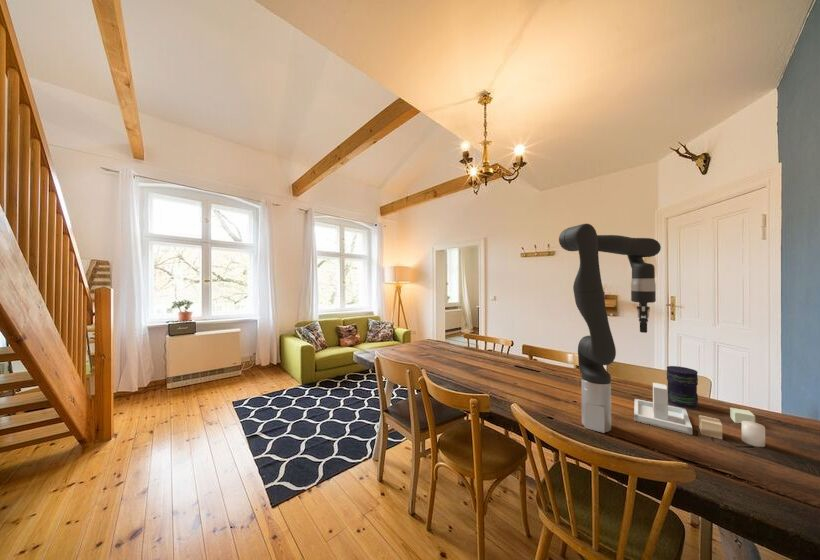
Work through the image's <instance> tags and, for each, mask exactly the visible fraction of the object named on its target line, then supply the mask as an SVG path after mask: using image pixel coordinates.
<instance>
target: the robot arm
mask: <svg viewBox="0 0 820 560" xmlns="http://www.w3.org/2000/svg"><path fill="white" fill-rule="evenodd" d="M558 243H559V246H560V247H561V248H562V249H563V250H565V251H567V252H578V255H579V268H578V271H577V274H576V276H575V278H574V282H573V295H574V296H573V297H574V302H575V304H576V307H577V309H578V311H579V313H580V315H581V317H582V318H583V320H584V322H585V323H586V325H587V328H588V332H589V335H584V336H582V337H581V338H580V340H579V342H578V346H577V359H578V361H577V363H578V369H579V372H580V374H581V375H580V376H581V385H580V386H581V388H580V389H581V424H582V425H583V427H584V428H585V429H588V430H591V431H595V432H599V433H602V434H606V432H607V433H608V432H610V431H611V430H612V380H611V378H612V376H611V374H610V373H609V372H608V370H607V369H606V368H605V367H604V366H609V365H611V364H612V363H614V361H615V359H616V355H617V349H616V344H615V341H614V337H613V335H612V334H613V333H612V330H611V328H610V323H609V318H608V312H607V307H606V299H605V293H604V287H603V283H602V277H601V270H600V261H599V252H601V253H608V254H615V255H621V256H622V255H623V256H627V259H628V261H629V264H630V267H631V282H630V283H631V284H630V300H631V301H630V302H633V303H638V305H637V306H636V312H637V318H638V322H639V333H641V334H642V333H645V334H646V333H648V323H649V318H650V312H651V307H650V306H648V304H649V303H651V304H653V303H656V298H657V297H656V294H657V293H656V291H657V290H656V289H657V288H656V285H657V284H656V279H655V277H656V275H655V274H656V273H655V270H656V269H655V268H656V267H655V265H654V264H653V263H647V262H645V260H644V258H652V257H655V256H657V255H659V253H660V251H661V248H662V247H661V244H660V242H659V241H658V240H656V239H654V238H649V237H630V236H626V235H625V236H624V235H617V234H600V235H599V234H598V233H597V231H596V229H595V227H594V226H593V225H592V224H590V223H582V224H578V225H574V226H571V227H568V228H565V229H563V230H562V231H561V232H560V234H559V236H558Z"/></svg>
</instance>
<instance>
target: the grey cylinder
mask: <svg viewBox="0 0 820 560" xmlns="http://www.w3.org/2000/svg"><path fill="white" fill-rule="evenodd" d="M741 441H742V442H744V443H745V444H747V445H751V446H754V447H758V448H764V447H766V427H765V426H764V425H763V424H761V423H758V422H756V421H755V422H751V421H742V424H741Z"/></svg>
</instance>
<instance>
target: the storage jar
mask: <svg viewBox="0 0 820 560" xmlns="http://www.w3.org/2000/svg"><path fill="white" fill-rule="evenodd" d="M666 380H667V389H668V404H671V406H674V407H679V408H683V409H688V410H689V409H691V410H696V409H698V407H699V406H698V402H699V398H698V385H699V379H698V370H696V369H692V368H688V367H685V366H679V365H678V366H677V365H669V366H666Z"/></svg>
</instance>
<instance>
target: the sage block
mask: <svg viewBox="0 0 820 560" xmlns="http://www.w3.org/2000/svg"><path fill="white" fill-rule="evenodd" d="M729 409H730V411H729V413H730V414H729V417H730V418H731V420H732V421H733V422H734V424H735V423H736V424H739V423H741V424H740V425H742V421H751V422H755V423H756V415H754V413H752V411H750V410H747V409H741V408H736V407H730V408H729Z"/></svg>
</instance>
